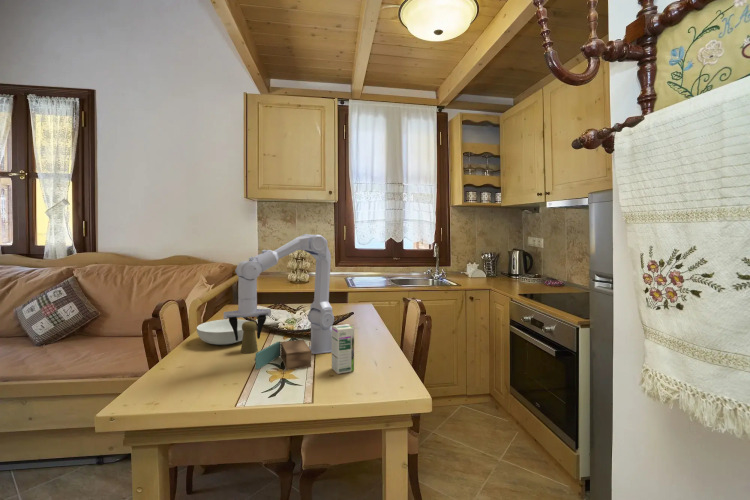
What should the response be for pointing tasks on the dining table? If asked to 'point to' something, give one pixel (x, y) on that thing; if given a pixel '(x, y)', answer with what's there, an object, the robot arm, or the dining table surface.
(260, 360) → the teal door
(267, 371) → the dining table surface
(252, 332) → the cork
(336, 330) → the syrup box
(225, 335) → the serving bowl
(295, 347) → the walnut cabinet
